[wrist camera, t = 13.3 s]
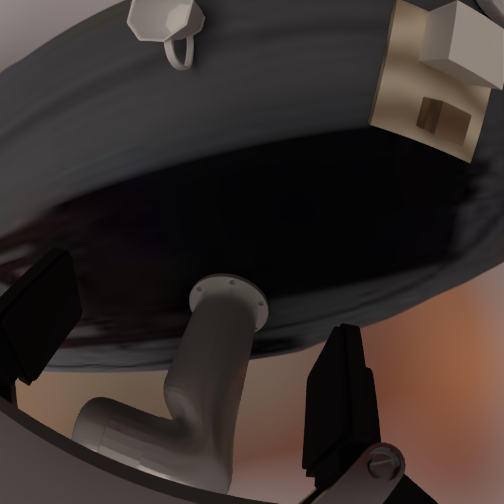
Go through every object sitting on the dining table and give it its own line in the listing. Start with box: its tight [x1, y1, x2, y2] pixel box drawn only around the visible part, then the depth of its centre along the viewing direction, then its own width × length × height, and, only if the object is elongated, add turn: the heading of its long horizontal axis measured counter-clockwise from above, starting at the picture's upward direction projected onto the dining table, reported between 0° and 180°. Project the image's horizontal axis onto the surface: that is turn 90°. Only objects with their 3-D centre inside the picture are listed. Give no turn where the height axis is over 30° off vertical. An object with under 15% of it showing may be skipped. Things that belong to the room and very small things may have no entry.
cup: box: [127, 0, 205, 71], centre depth 25 cm, size 7×10×8 cm
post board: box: [368, 0, 491, 163], centre depth 23 cm, size 16×14×7 cm
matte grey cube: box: [419, 0, 504, 90], centre depth 19 cm, size 7×7×8 cm
